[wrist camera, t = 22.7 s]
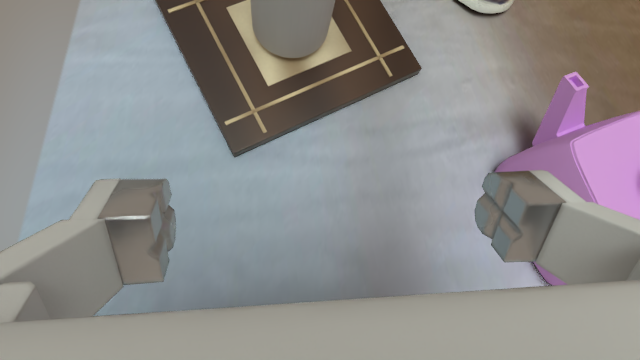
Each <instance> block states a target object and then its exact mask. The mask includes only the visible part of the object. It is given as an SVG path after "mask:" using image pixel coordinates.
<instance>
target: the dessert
mask: <svg viewBox="0 0 640 360" xmlns="http://www.w3.org/2000/svg"><path fill="white" fill-rule="evenodd" d="M458 1H460V2H462V3H464V4H465V5H466V6H468V7H470V8H471V9H472V10H476V11H477V12H481V13H500V12H503V11H506V10H507V9H508V8H509V7H510V6H511V5H512V3H513V1H514V0H458Z"/></svg>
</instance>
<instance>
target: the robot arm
mask: <svg viewBox="0 0 640 360" xmlns="http://www.w3.org/2000/svg"><path fill="white" fill-rule="evenodd" d="M482 187H483V190H484V192H485V194H484V195H483V196H482V197H481V198H479V199H478V201H477V204H476V208H475V221H476V224H477V226H478V228H479V230H480V231H481V232H482V234H484V235H486V236H487V237H489V238H491V239H492V243H491V246H492V247H493V248H494V249H495V251H496V252H497V253H498V255H499V256H500V257H501V259H502V260H503V261H504V262H535V263H536V264H538V265H539V266H540V267H542V268H543V269H545V270H546V271H548V272H549V273H551V274H552V275H554V276H555V277H557V278H558V279H560V280H561V281H563V282H564V283H566V284H567V285H555V286H540V287H525V288H510V289H495V290H481V291H466V292H451V293H436V294H421V295H406V296H391V297H376V298H361V299H346V300H332V301H317V302H302V303H287V304H272V305H257V306H242V307H227V308H212V309H197V310H182V311H167V312H152V313H138V314H123V315H108V316H93V315H95V314H96V313H97V312H98V311H99V310H100V309H101V308H102V307H103V306H104V305H105V304H106V303H107V302H108V301H109V300H110V299H111V298H112V297H113V296H115V295H116V294H117V293H118V292H119V291H120V290H121V289H122V288H123V285H130V284H142V283H154V282H163V281H164V278H165V274H166V271H167V267H168V264H169V256H168V251H170V250H171V249H172V248H173V246H174V242H175V234H176V219H175V212H174V209H172V208H171V207H170V206H169V205H168V204H169V201H170V198H171V195H172V194H171V190H170V185H169V182H168V180H167V179H100V180H96V181H95V182H94V184H93V185H92V187H91V188H90V190H89V191H88V192H87V194H86V195H85V197H84V198H83V200H82V201H81V203H80V204H79V206H78V207H77V209H76V210H75V211H74V213H73V214H72V216H71V217H70V219H69V220H60V221H59V222H57V223H55V224H53V225H51V226H49V227H47V228H45V229H43V230H41V231H39V232H37V233H35V234H34V235H32V236H30V237H28V238H26V239H24V240H22V241H20V242H18V243H16V244H14V245H12V246H10V247H8V248H7V249H5V250H3V251H1V252H0V360H640V220H639V219H636V218H633V217H631V216H628V215H625V214H623V213H620V212H617V211H615V210H612V209H610V208H607V207H604V206H602V205H599V204H596V203H594V202H586V201H585V200H584V199H582V198H581V197H580V196H579V195H577V194H576V193H575V192H573V191H572V190H571V189H570V188H568V187H567V186H566V185H565V184H563V183H562V182H561V181H560V180H558V179H557V178H556V177H555V176H553V175H552V174H551V173H550V172H548V171H545V170H530V171H511V172H492V173H488V175H487V176H486V177H485V179H484V182H483V185H482ZM92 316H93V317H92Z"/></svg>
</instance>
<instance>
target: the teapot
mask: <svg viewBox="0 0 640 360" xmlns="http://www.w3.org/2000/svg"><path fill="white" fill-rule="evenodd" d="M588 87H589V86H588V85H587V84H586V82H585V81H584V80H583V79H582V78H581V77H580V75H579V74H578V73H577V72H574V73H571V74H568V75H566V76H564V77H563V78H562V79H561V81H560V83H559V86H558V88H557V90H556V92H555V94H554V96H553V99H552V101H551V103H550V105H549V107H548V109H547V112H546V114H545V116H544V118H543V120H542V122H541V125H540V127H539V129H538V131H537V133H536V135H535V137H534V140H533V142H532V145H533V147H531V148H528V149H526V150H524V151H522V152H520V153H518V154H515V155H513V156H511V157H509V158H508V159H506V160H505V161H503V162H502V163H501V164H500V165H499V166H498V167H497V169H496V171H495V172H511V171H530V170H545V171H548V172H550V173H551V174H552V175H553V176H555V177H556V178H557V179H558V180H560V181H561V182H562V183H563V184H565V185H566V186H567V187H568V188H570V189H571V190H572V191H573V192H575V193H576V194H577V195H579V196H580V197H581V198H582V199H584V200H585V201H586V202H594V203H596V204H599V205H602V206H604V207H607V208H610V209H612V210H615V211H617V212H620V213H623V214H625V215H628V216H631V217H633V218H636V219H639V220H640V111H637V112H633V113H629V114H625V115H621V116H617V117H614V118H610V119H607V120H604V121H601V122H598V123H594V124H591V125H588V126H585V124H584V115H585V103H586V91H587V88H588ZM534 264H535V266H536V267H537V269H538V270H539V272H540V273H541V275H542V276H543V277H544V279H545V280H546V281H547V282H548V283H549V284H551V285H553V286H555V285H567V284H566V283H564V282H563V281H561V280H560V279H558V278H557V277H555V276H554V275H552V274H551V273H549V272H548V271H546V270H545V269H543V268H542V267H540V266H539V265H538V264H536V263H535V262H534Z"/></svg>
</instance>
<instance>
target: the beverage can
mask: <svg viewBox="0 0 640 360" xmlns="http://www.w3.org/2000/svg"><path fill="white" fill-rule="evenodd" d="M334 4H335V0H251V14H252V26H253V31H254V33H255V36H256V38H257V39H258V41H259V42H260V43H261V44H262V46H264V47H265V48H266V49H267V50H268V51H270V52H272V53H274V54H276V55H278V56H281V57H286V58H300V57H304V56H307V55H309V54H311V53H313V52H315V51H316V50H317V49H318V48H319V47H320V46H321V45H322V44H323V43H324V41H325V39H326V36H327V34H328V30H329V25H330V21H331V17H332V13H333V8H334Z"/></svg>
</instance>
